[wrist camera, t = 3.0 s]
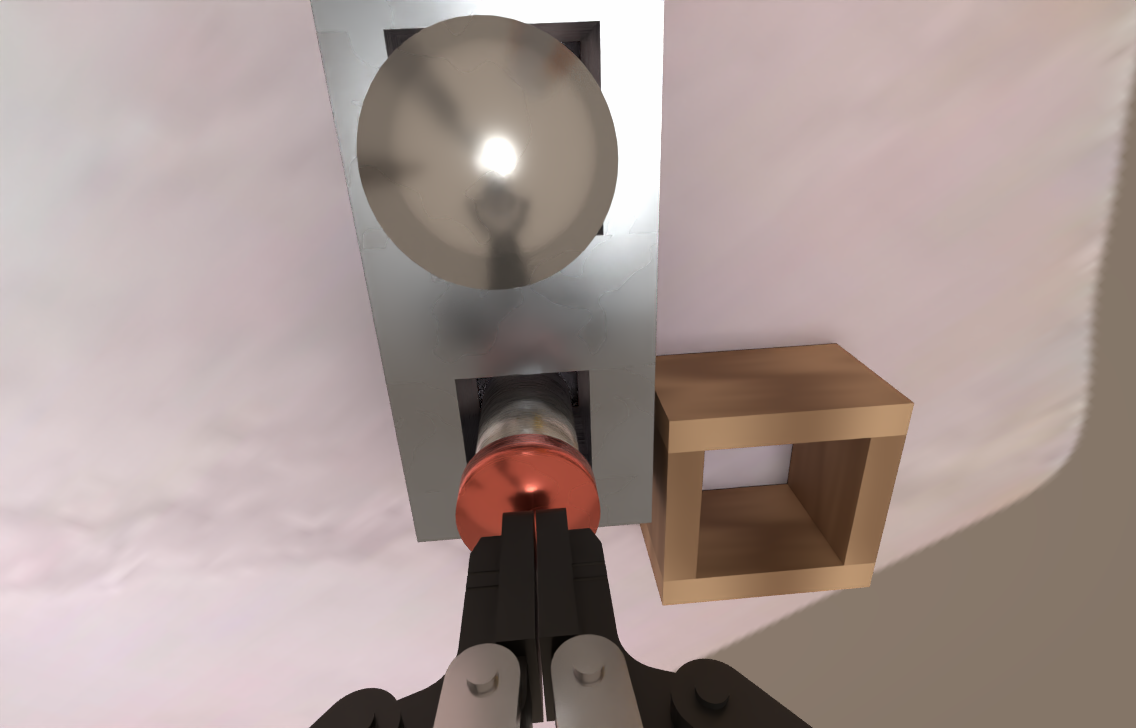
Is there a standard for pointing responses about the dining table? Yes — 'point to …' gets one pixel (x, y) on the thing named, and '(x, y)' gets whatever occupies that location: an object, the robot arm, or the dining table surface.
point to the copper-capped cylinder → (525, 459)
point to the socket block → (530, 313)
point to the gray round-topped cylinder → (487, 152)
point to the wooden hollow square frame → (775, 512)
